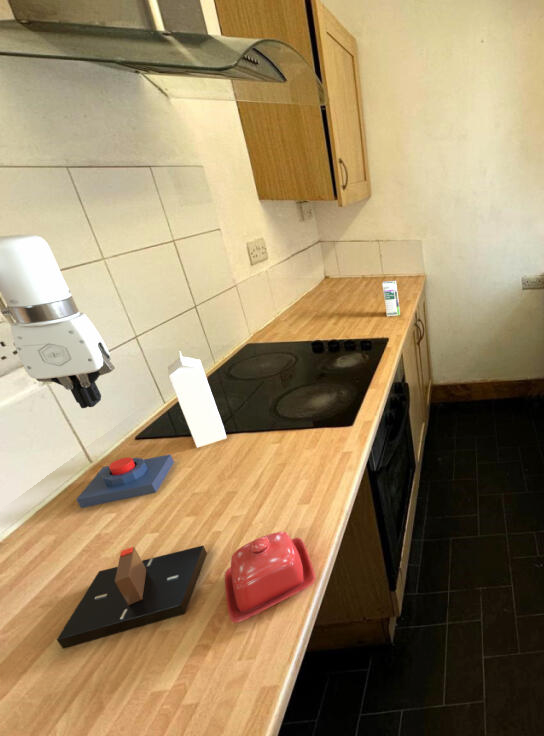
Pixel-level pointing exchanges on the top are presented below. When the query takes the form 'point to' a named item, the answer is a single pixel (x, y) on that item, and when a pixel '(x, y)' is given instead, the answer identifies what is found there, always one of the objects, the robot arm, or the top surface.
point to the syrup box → (391, 298)
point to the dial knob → (130, 576)
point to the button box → (126, 482)
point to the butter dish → (266, 574)
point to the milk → (196, 400)
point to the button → (122, 466)
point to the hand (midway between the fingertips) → (91, 403)
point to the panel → (160, 601)
